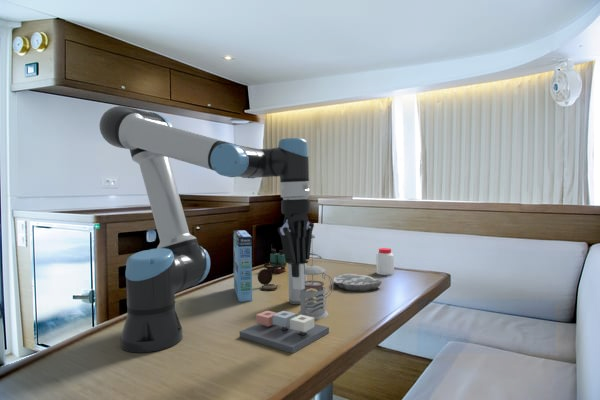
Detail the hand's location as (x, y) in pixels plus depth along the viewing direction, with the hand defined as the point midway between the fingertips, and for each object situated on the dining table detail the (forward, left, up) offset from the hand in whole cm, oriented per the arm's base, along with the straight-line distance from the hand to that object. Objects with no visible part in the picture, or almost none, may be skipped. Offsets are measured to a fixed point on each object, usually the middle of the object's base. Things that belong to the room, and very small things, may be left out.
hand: (298, 288), depth 102 cm
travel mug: (+26, +20, -13) cm, 35 cm away
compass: (+34, +40, -14) cm, 54 cm away
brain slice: (+55, +14, -14) cm, 58 cm away
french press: (+19, +8, -13) cm, 24 cm away
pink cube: (0, +11, -13) cm, 17 cm away
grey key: (0, +5, -12) cm, 13 cm away
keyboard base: (0, +5, -13) cm, 14 cm away
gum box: (+22, +43, -14) cm, 50 cm away
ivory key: (0, -1, -12) cm, 12 cm away
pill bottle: (+83, +14, -13) cm, 85 cm away
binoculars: (+57, +57, -14) cm, 81 cm away
